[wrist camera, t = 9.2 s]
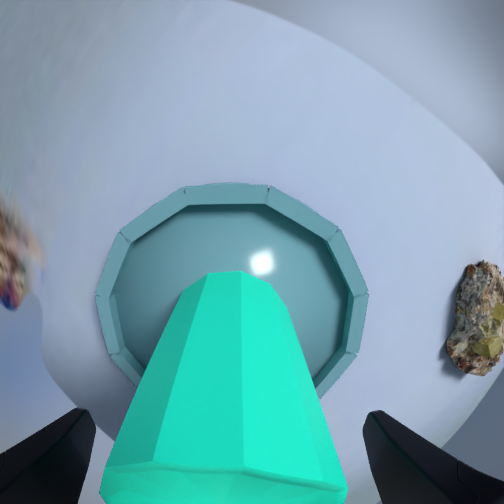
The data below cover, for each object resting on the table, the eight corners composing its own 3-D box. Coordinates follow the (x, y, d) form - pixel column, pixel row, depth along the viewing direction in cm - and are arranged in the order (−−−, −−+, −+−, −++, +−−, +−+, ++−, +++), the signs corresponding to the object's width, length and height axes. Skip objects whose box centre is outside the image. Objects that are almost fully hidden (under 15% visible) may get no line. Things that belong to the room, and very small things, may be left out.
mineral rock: (523, 338, 16) (480, 405, 14) (490, 328, 20) (445, 387, 18) (519, 233, 13) (477, 304, 12) (477, 231, 18) (426, 291, 16)
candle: (201, 381, 15) (173, 580, 4) (154, 291, 14) (23, 504, 2) (301, 352, 15) (368, 562, 3) (268, 252, 14) (362, 517, 2)
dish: (336, 397, 17) (344, 416, 16) (135, 398, 17) (128, 417, 15) (363, 185, 14) (380, 187, 12) (99, 189, 14) (81, 192, 12)
